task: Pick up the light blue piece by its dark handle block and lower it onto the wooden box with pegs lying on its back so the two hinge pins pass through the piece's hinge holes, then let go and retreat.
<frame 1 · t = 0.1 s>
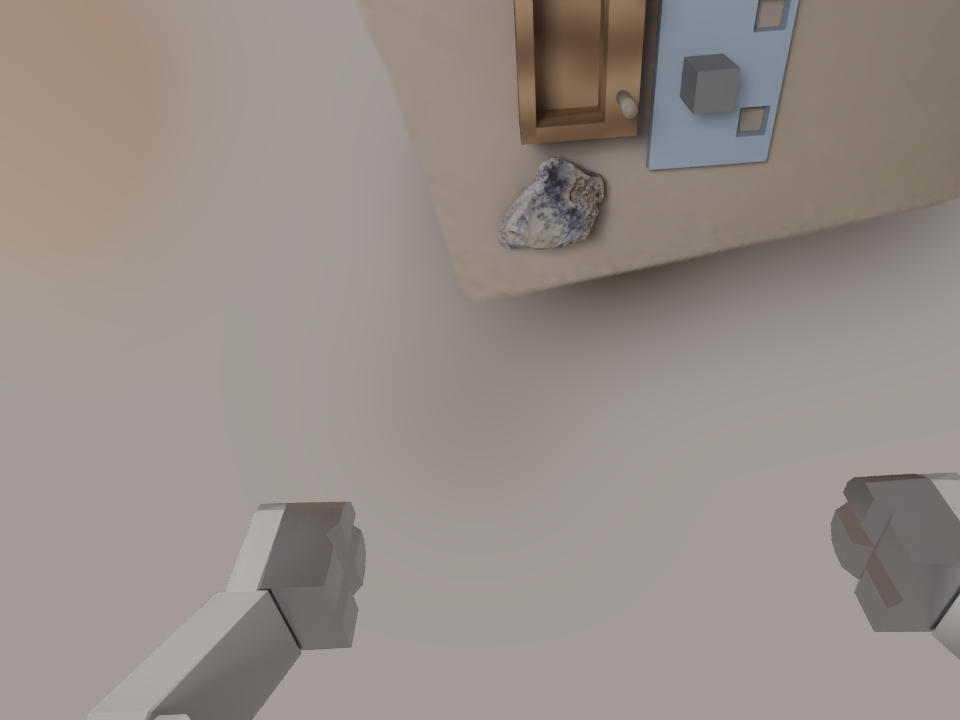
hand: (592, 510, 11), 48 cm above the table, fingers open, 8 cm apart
wooden box with pegs: (572, 28, 49), on the table
light blue piece: (715, 69, 51), on the table
mineral specimen: (543, 197, 58), on the table
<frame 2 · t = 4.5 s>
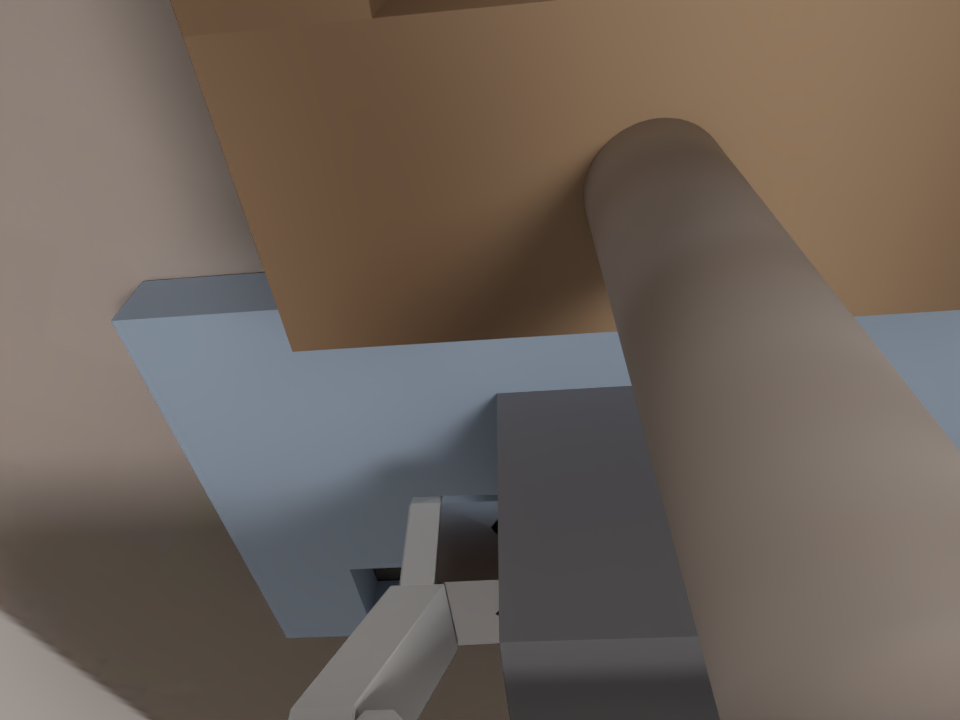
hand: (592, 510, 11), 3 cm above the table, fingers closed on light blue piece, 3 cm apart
light blue piece: (576, 456, 14), on the table, touching gripper
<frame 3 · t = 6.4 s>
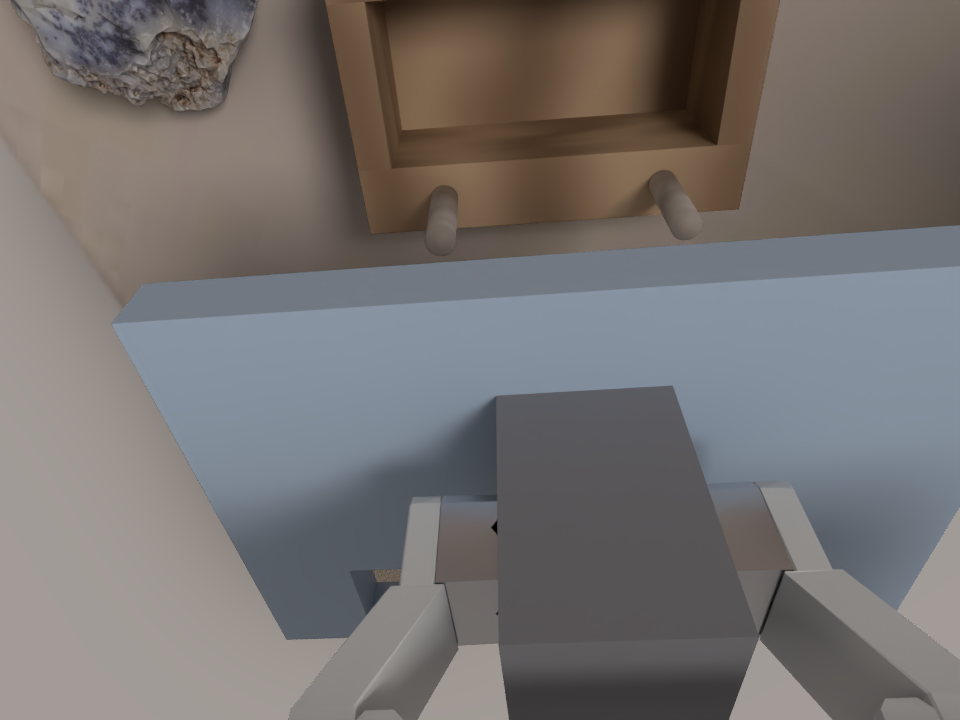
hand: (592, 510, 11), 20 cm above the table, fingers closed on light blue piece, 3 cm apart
wooden box with pegs: (540, 62, 25), on the table
light blue piece: (575, 457, 14), point 18 cm above the table, touching gripper
when the fingers open (9 cm above the table, at t = 8.6 s): light blue piece drops 1 cm, resting on wooden box with pegs.
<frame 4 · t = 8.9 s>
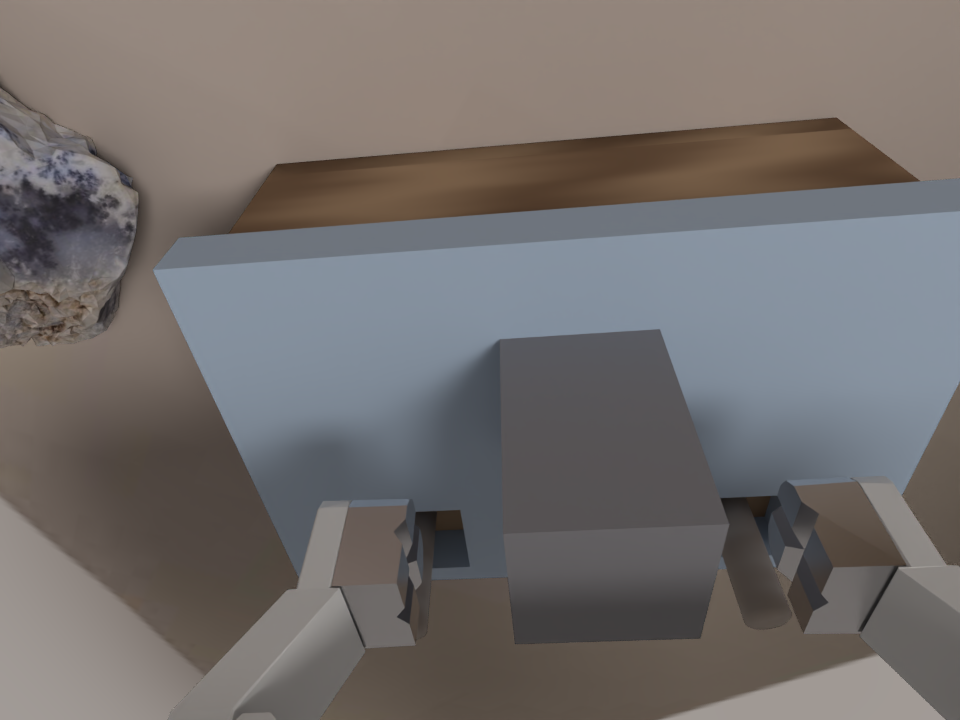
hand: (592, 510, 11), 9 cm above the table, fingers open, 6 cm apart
wooden box with pegs: (551, 293, 19), on the table
light blue piece: (572, 407, 15), point 5 cm above the table, touching wooden box with pegs
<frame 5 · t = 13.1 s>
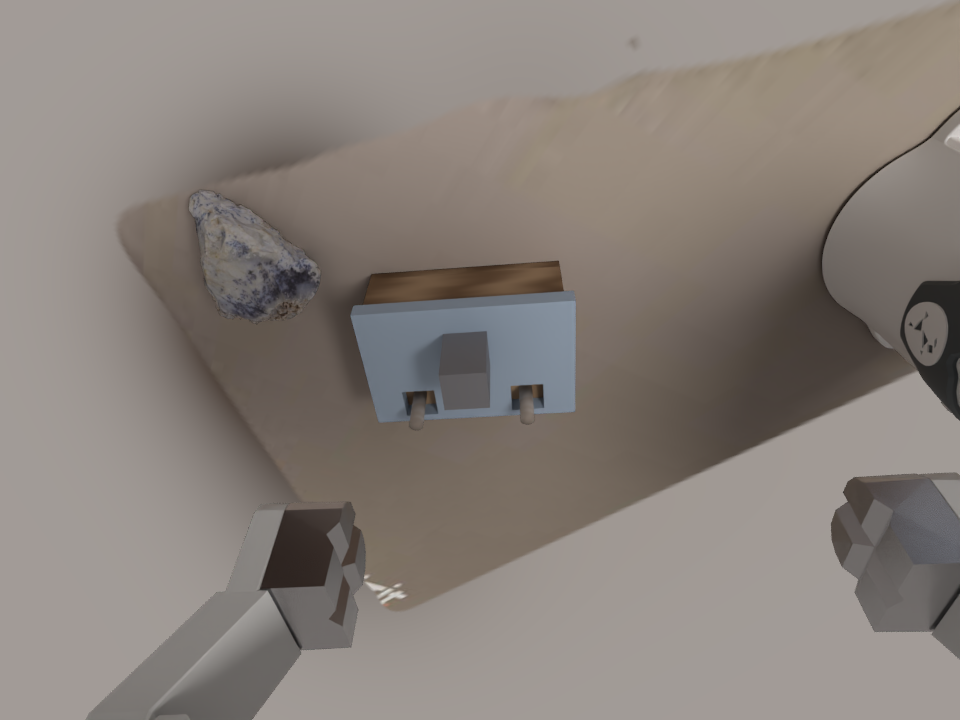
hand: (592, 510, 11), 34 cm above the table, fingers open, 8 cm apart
wooden box with pegs: (470, 317, 50), on the table
light blue piece: (469, 356, 46), point 5 cm above the table, touching wooden box with pegs
mineral specimen: (264, 244, 46), on the table
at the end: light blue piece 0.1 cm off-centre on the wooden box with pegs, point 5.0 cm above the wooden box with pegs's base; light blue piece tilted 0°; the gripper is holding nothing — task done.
